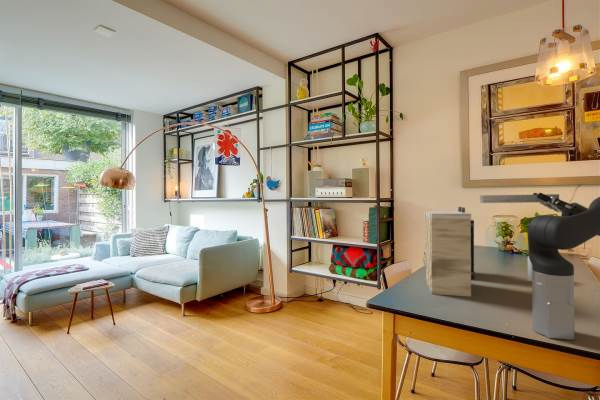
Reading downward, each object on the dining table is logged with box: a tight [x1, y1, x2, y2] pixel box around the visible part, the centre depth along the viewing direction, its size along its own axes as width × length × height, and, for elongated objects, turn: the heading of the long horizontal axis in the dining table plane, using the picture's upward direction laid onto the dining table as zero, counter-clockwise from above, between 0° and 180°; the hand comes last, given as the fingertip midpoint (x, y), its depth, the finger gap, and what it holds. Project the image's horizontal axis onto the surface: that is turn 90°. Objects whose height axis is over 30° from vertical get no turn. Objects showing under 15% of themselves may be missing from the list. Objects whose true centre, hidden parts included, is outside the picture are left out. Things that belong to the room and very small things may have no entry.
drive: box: [479, 193, 560, 204], centre depth 125 cm, size 4×26×3 cm, turn 75°
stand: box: [424, 206, 472, 297], centre depth 132 cm, size 22×14×34 cm, turn 165°
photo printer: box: [526, 255, 532, 283], centre depth 142 cm, size 10×4×12 cm, turn 123°
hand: (535, 194), depth 123 cm, fingers closed on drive, 4 cm apart
